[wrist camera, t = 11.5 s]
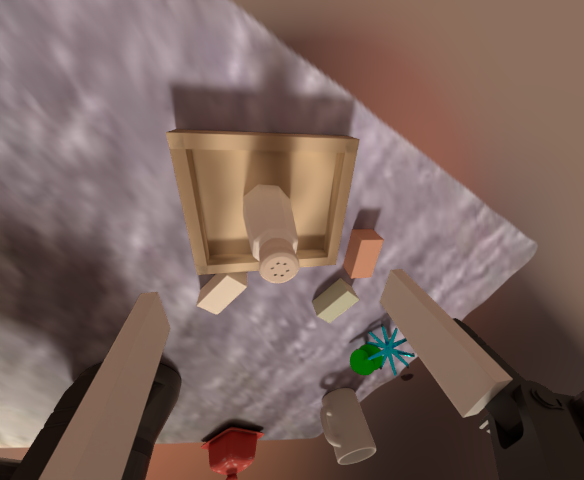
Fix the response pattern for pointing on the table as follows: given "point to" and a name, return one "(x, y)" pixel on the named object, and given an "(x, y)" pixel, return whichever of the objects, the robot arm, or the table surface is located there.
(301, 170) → the oak tray
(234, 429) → the butter dish
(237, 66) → the table surface
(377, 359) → the stick construction toy
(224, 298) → the cream brick
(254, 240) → the pepper shaker
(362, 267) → the terracotta brick
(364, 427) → the mug
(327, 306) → the sage brick
